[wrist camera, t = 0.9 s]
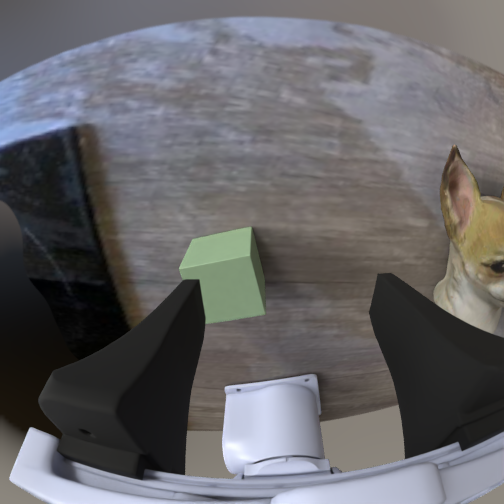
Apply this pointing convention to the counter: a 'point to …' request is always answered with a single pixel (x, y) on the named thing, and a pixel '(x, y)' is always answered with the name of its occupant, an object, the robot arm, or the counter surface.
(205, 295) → the sage block
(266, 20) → the counter surface
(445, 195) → the ceramic sculpture
